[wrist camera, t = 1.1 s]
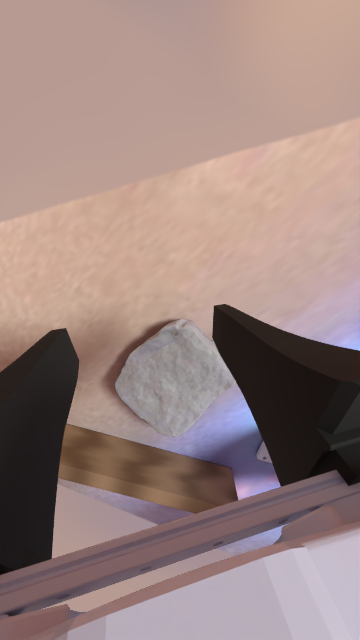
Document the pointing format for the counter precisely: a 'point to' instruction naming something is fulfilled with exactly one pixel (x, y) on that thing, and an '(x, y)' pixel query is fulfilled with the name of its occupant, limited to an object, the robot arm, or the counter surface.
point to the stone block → (173, 377)
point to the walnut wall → (144, 471)
